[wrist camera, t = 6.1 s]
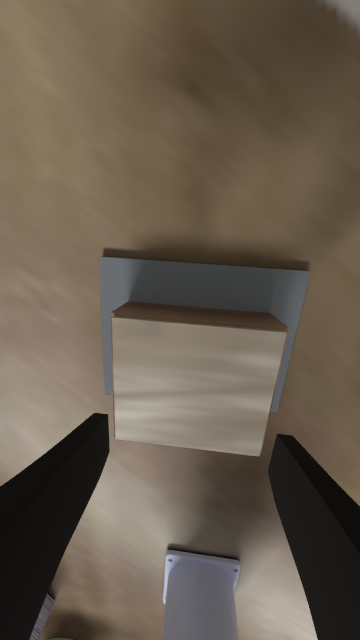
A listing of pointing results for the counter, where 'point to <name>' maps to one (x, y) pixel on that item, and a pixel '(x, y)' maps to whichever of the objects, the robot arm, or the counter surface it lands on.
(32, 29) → the counter surface
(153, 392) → the brown wooden block
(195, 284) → the mat
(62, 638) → the mug
